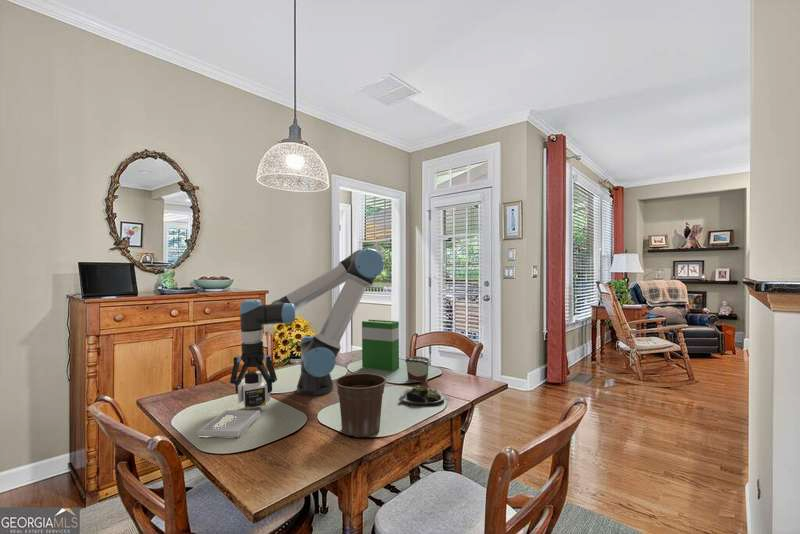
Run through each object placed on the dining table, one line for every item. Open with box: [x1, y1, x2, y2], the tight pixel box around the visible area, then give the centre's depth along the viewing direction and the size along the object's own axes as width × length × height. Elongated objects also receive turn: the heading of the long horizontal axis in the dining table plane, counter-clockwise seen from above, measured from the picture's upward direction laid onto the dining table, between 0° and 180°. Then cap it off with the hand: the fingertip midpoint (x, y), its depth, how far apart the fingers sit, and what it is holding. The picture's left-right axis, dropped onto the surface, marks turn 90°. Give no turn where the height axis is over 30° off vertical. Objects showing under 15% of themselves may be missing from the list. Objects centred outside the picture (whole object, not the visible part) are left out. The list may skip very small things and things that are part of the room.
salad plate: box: [398, 384, 445, 407], centre depth 151 cm, size 19×18×5 cm
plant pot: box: [335, 372, 387, 438], centre depth 122 cm, size 16×16×16 cm
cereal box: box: [361, 319, 400, 372], centre depth 194 cm, size 18×7×24 cm, turn 64°
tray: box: [197, 409, 261, 438], centre depth 125 cm, size 13×17×2 cm
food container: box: [404, 356, 431, 384], centre depth 174 cm, size 12×6×10 cm, turn 58°
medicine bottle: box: [242, 370, 267, 410], centre depth 140 cm, size 7×7×12 cm
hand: (254, 401), depth 140 cm, fingers closed on medicine bottle, 9 cm apart
